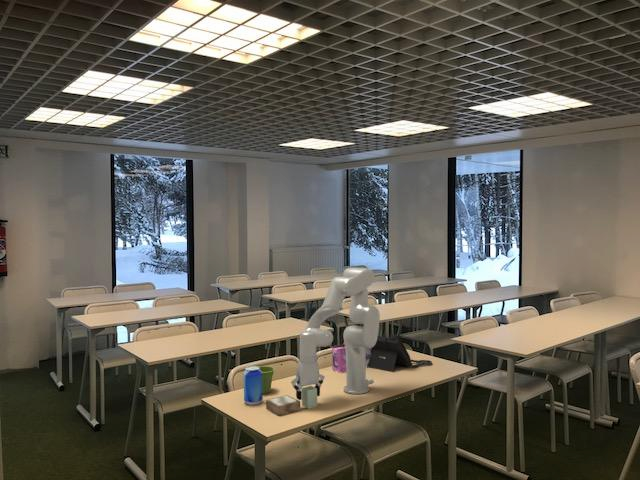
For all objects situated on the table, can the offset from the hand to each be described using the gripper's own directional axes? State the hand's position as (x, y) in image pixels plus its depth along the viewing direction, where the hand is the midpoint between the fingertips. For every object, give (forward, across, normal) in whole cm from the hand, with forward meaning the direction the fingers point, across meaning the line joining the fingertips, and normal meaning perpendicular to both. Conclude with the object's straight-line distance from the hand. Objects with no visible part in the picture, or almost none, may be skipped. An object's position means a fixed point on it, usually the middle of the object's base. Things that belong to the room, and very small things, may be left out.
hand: (308, 397), depth 230 cm
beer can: (+5, +17, -20) cm, 27 cm away
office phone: (+2, -78, -24) cm, 82 cm away
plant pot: (+4, +6, -31) cm, 32 cm away
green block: (+4, -1, 0) cm, 4 cm away
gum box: (+3, -54, -37) cm, 65 cm away
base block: (+4, +11, -3) cm, 12 cm away
